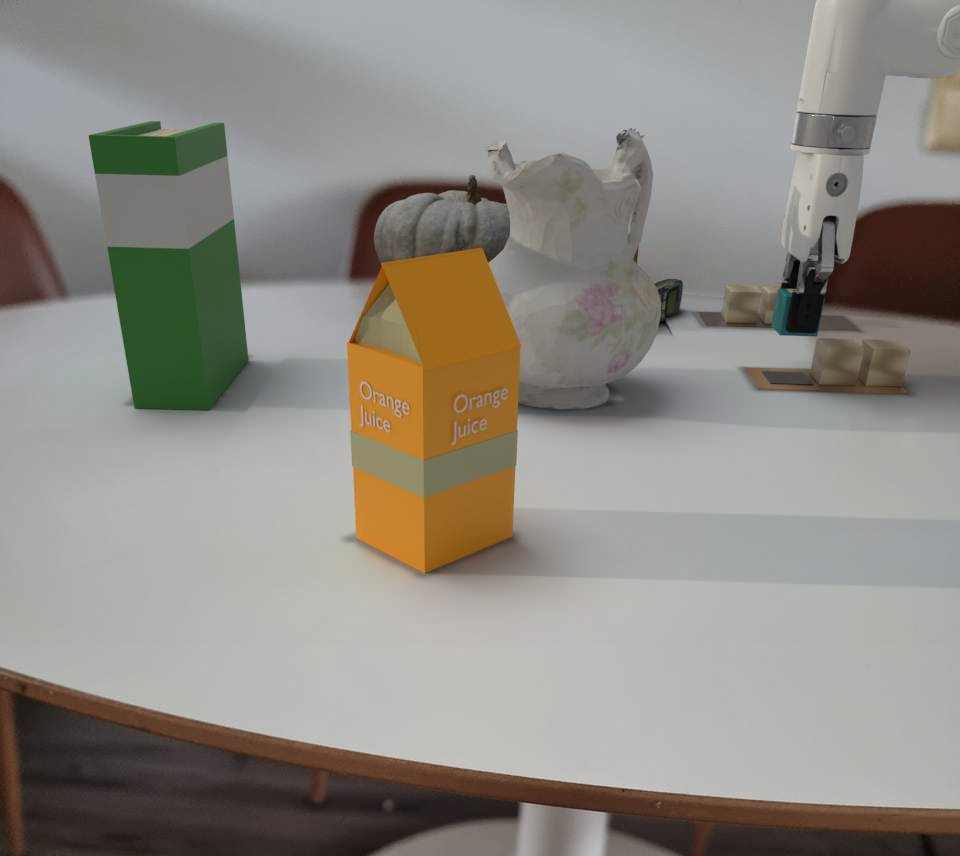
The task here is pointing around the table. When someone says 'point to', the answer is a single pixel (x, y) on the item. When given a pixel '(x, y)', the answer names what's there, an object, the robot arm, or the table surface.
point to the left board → (823, 322)
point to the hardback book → (172, 260)
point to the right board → (842, 368)
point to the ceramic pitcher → (576, 271)
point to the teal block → (786, 313)
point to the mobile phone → (669, 297)
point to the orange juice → (434, 410)
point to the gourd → (442, 225)
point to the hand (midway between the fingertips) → (795, 324)
